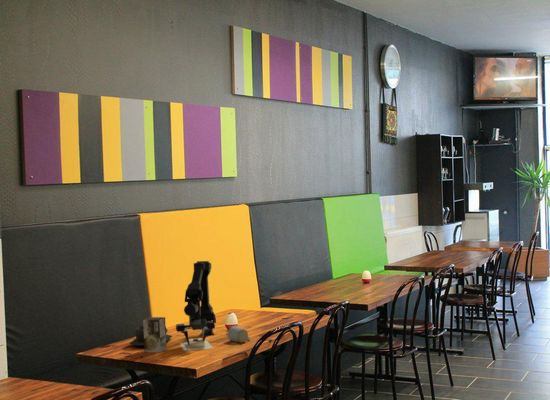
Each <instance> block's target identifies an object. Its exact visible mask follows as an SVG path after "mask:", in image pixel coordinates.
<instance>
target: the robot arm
mask: <svg viewBox="0 0 550 400" xmlns="http://www.w3.org/2000/svg"><path fill="white" fill-rule="evenodd" d="M211 270H212V263H211V262H210V261H209V260H200V261H199V260H197V261H196V262H195V263H193V272H192V277H191V278H192V279H191V282H190V283H189V284H188V285H187V288H186V289H185V293H184V294H185V295H184V303H187V304H185V306H184V309H183V312H184V314H185V315H186V316H188V319H189V320H188V322H189V323H188V324H185V323H177V324H176V325H175V330H176V332H178V333H182V334H183V335H184V337H185V340H186V342H187V343H188V345H189V339H190V338H189V334H188V333H189V331H188V330H192V331H196V330H201V332H200V335H201V336H202V340H203V341H206V338H207V336H215V333H214V329H216V325H215V324H216V323H217V317H216V314H215V312H214V308H213V306H212V305H211V303H210V290H209V289H210V288H209V276H210V274H211Z"/></svg>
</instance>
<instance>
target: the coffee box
mask: <svg viewBox="0 0 550 400" xmlns="http://www.w3.org/2000/svg"><path fill="white" fill-rule="evenodd" d="M142 323H143V325H142V326H143V327H144V353H162V352H164V351H166V350H167V349H168V348H167V341H166V335H167V333H166V329H167V326H166V317H164V316H163V317H161V316H148V317H147V318H144V319H142ZM165 326H166V327H165Z"/></svg>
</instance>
